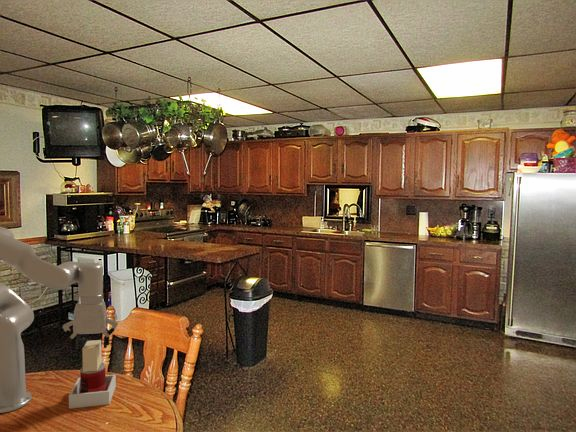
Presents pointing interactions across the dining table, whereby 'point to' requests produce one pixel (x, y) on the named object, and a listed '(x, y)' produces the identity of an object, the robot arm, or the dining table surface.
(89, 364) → the plain beige cuboid
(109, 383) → the box
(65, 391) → the dining table surface
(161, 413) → the dining table surface
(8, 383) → the robot arm
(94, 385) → the canned food
